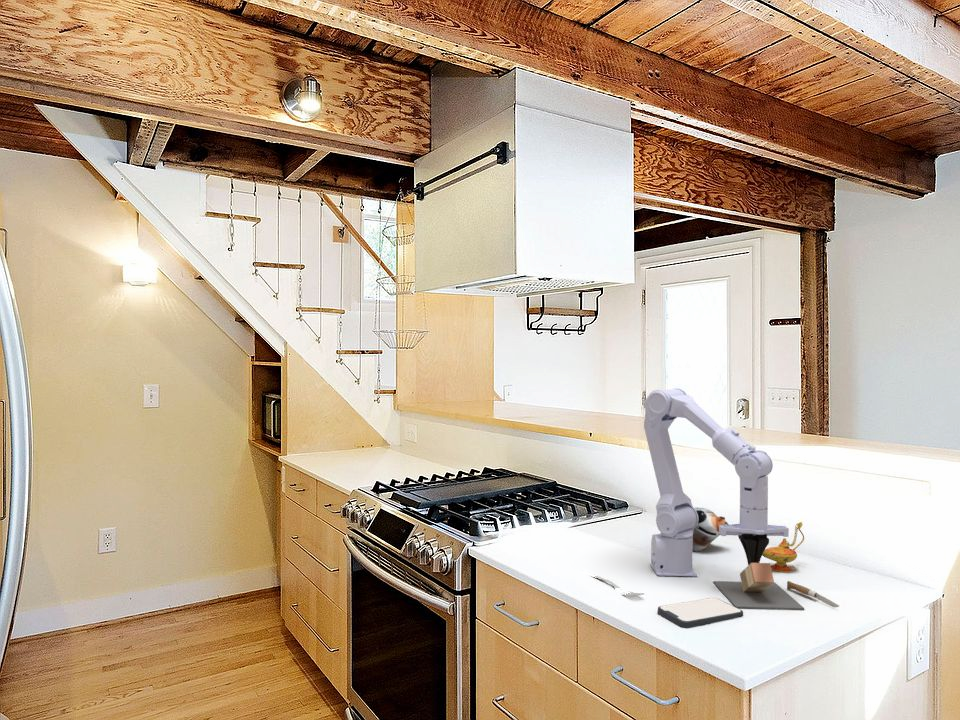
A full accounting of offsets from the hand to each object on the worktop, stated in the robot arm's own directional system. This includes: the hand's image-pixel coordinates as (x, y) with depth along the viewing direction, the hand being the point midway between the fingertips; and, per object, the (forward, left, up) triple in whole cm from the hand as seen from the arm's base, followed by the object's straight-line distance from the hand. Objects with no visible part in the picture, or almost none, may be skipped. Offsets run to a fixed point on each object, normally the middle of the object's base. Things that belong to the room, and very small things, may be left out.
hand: (753, 568), depth 148 cm
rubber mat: (0, -1, -6) cm, 6 cm away
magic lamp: (+12, +17, -6) cm, 21 cm away
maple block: (0, +1, -4) cm, 4 cm away
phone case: (-15, -12, -6) cm, 20 cm away
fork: (-32, +5, -6) cm, 33 cm away
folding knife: (+12, -3, -6) cm, 13 cm away
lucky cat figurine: (-3, +34, -6) cm, 35 cm away
